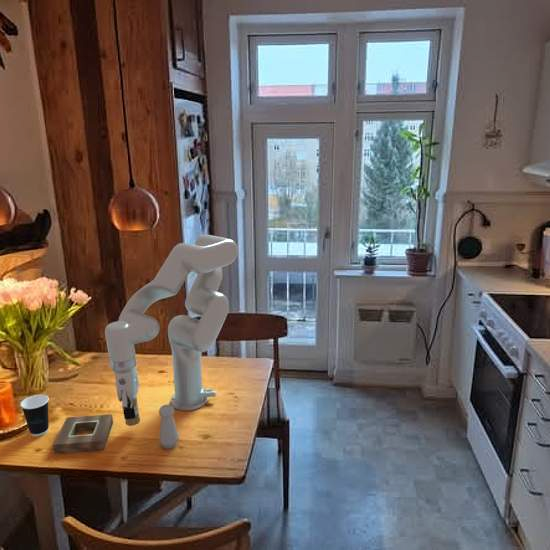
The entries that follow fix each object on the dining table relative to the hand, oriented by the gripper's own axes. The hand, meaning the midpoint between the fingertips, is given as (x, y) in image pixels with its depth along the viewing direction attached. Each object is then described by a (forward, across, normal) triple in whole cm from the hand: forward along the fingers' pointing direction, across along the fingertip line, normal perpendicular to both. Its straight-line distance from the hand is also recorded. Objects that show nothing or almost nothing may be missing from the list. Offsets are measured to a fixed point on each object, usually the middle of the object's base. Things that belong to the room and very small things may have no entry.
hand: (131, 412), depth 149 cm
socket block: (+6, -2, +14) cm, 16 cm away
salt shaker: (+7, -9, -12) cm, 16 cm away
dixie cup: (+5, +3, +29) cm, 30 cm away
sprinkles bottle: (+4, 0, 0) cm, 4 cm away
